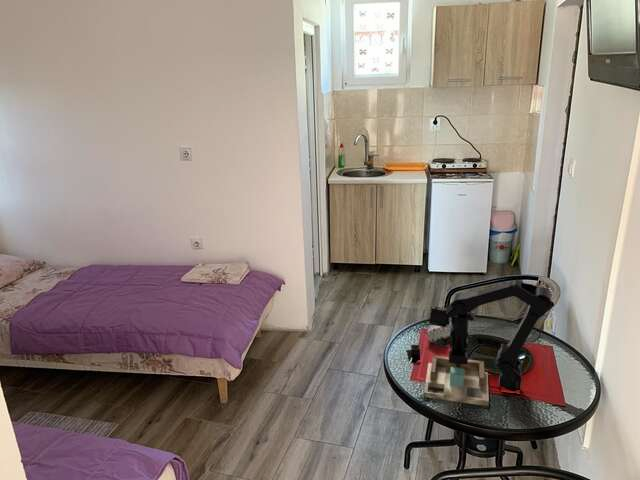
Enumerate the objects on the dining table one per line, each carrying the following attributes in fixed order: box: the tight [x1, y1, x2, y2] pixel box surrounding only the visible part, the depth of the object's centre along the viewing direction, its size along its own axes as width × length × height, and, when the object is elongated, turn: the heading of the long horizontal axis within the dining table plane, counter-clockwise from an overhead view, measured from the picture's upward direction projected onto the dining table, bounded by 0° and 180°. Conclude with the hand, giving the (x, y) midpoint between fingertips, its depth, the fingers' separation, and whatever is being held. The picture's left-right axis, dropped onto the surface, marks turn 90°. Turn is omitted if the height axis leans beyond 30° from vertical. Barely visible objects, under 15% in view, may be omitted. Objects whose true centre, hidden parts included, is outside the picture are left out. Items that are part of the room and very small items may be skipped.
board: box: [423, 362, 490, 407], centre depth 176 cm, size 21×18×2 cm
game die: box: [424, 325, 445, 343], centre depth 202 cm, size 9×8×10 cm
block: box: [450, 367, 464, 387], centre depth 174 cm, size 4×4×4 cm
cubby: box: [430, 355, 485, 387], centre depth 179 cm, size 18×10×4 cm, turn 74°
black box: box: [406, 344, 421, 364], centre depth 194 cm, size 12×7×5 cm, turn 177°
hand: (457, 366), depth 179 cm, fingers closed
